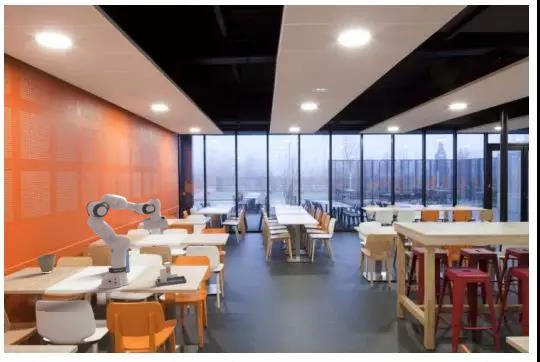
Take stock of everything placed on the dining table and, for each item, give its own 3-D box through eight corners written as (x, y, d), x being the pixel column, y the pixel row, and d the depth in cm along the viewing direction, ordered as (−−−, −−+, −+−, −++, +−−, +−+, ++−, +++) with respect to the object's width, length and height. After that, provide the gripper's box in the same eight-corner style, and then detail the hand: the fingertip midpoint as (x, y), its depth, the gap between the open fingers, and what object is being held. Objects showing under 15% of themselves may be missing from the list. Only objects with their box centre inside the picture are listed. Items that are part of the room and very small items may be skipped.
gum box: (129, 271, 349) (128, 246, 349) (125, 273, 345) (124, 247, 344) (116, 269, 360) (115, 245, 360) (111, 270, 356) (111, 246, 355)
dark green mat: (158, 280, 314) (158, 280, 314) (157, 276, 327) (157, 276, 327) (178, 278, 319) (178, 277, 319) (176, 274, 332) (176, 274, 332)
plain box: (160, 284, 302) (160, 268, 302) (160, 282, 307) (159, 267, 306) (166, 283, 304) (166, 268, 304) (166, 281, 308) (165, 267, 308)
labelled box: (165, 278, 320) (164, 263, 320) (165, 276, 324) (164, 262, 324) (171, 277, 321) (170, 263, 321) (170, 276, 326) (169, 262, 326)
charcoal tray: (157, 286, 297) (157, 283, 297) (156, 282, 310) (156, 279, 310) (186, 282, 304) (186, 279, 304) (184, 278, 318) (184, 275, 318)
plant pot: (50, 274, 349) (50, 257, 349) (34, 275, 349) (33, 257, 349) (59, 270, 364) (59, 253, 364) (44, 271, 364) (43, 254, 364)
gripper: (142, 218, 320) (143, 235, 320) (168, 217, 327) (168, 233, 327) (142, 218, 326) (143, 234, 326) (167, 216, 333) (167, 232, 333)
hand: (156, 233), depth 326 cm, fingers open, 8 cm apart
